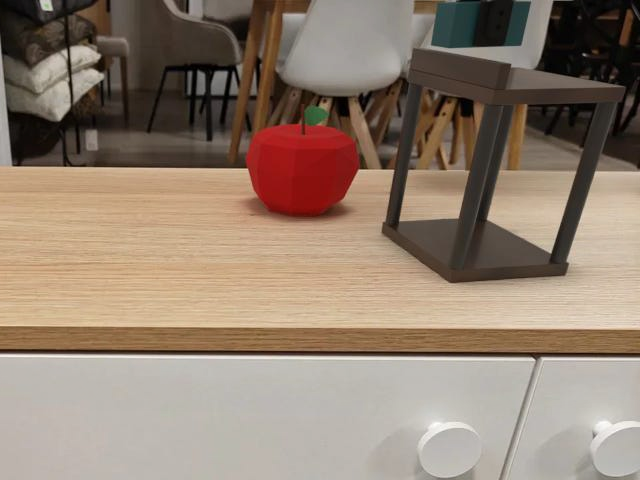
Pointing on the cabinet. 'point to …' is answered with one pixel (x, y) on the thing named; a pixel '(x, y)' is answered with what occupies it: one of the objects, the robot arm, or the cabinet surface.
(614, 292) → the cabinet surface
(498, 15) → the robot arm
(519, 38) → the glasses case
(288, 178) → the apple
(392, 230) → the rack
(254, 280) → the cabinet surface
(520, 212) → the cabinet surface
